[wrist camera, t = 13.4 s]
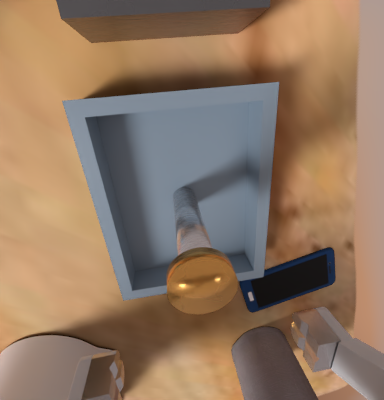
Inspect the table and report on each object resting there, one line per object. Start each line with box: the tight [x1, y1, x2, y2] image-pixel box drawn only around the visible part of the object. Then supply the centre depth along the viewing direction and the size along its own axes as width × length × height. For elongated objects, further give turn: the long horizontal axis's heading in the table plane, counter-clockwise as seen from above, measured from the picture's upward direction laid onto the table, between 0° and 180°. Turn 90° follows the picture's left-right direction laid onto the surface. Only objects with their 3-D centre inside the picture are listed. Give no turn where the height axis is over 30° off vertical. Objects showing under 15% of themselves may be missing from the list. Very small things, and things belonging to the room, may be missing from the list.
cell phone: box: [240, 247, 335, 312], centre depth 32 cm, size 7×14×1 cm, turn 109°
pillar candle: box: [232, 327, 318, 400], centre depth 31 cm, size 10×10×15 cm
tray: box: [62, 82, 279, 301], centre depth 22 cm, size 20×16×4 cm
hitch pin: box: [167, 187, 238, 315], centre depth 18 cm, size 4×4×12 cm
